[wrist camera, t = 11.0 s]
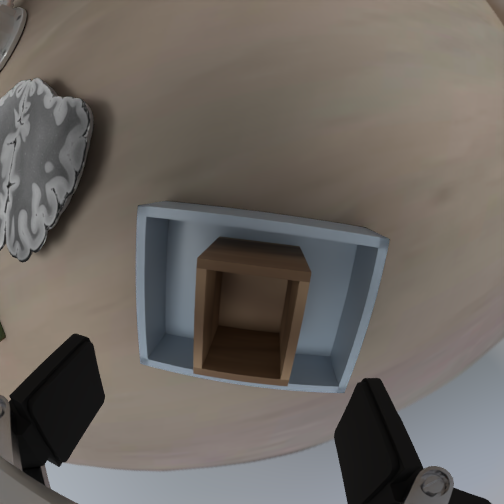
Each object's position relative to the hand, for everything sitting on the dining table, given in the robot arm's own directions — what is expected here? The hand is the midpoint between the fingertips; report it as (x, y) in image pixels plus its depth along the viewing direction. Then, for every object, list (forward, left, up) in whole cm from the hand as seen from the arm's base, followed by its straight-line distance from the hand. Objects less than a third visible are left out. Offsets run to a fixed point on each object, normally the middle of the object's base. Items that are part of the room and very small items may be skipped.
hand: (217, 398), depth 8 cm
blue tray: (0, +1, -12) cm, 12 cm away
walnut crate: (0, 0, -12) cm, 12 cm away
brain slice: (-8, -22, -13) cm, 27 cm away
